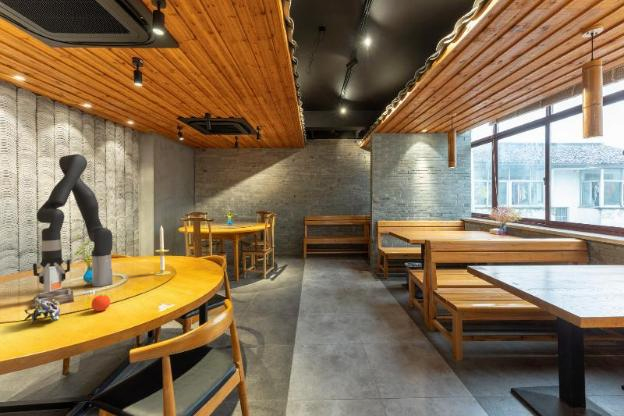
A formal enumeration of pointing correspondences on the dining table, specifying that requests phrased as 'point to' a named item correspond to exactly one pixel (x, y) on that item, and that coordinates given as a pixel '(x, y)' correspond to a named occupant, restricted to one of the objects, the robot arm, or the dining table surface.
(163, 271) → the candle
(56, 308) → the passion flower
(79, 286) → the dining table surface
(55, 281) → the skincare box
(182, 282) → the dining table surface
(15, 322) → the dining table surface
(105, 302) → the clementine
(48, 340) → the dining table surface
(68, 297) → the brown shallow box
